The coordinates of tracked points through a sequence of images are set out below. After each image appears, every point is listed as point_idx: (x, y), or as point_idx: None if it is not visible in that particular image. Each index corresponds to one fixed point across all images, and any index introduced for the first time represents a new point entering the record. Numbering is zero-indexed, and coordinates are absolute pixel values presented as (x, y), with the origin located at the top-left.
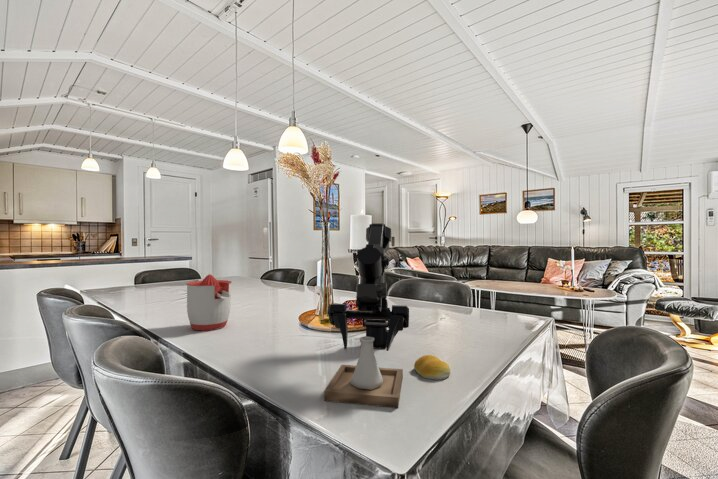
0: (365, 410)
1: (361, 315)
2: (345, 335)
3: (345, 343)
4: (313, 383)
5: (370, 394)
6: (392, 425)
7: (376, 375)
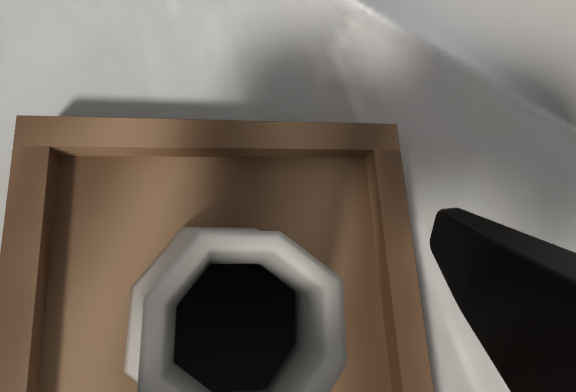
0: (189, 97)
1: None
2: (542, 261)
3: (464, 216)
4: None
5: (171, 126)
6: (64, 8)
7: (152, 279)
